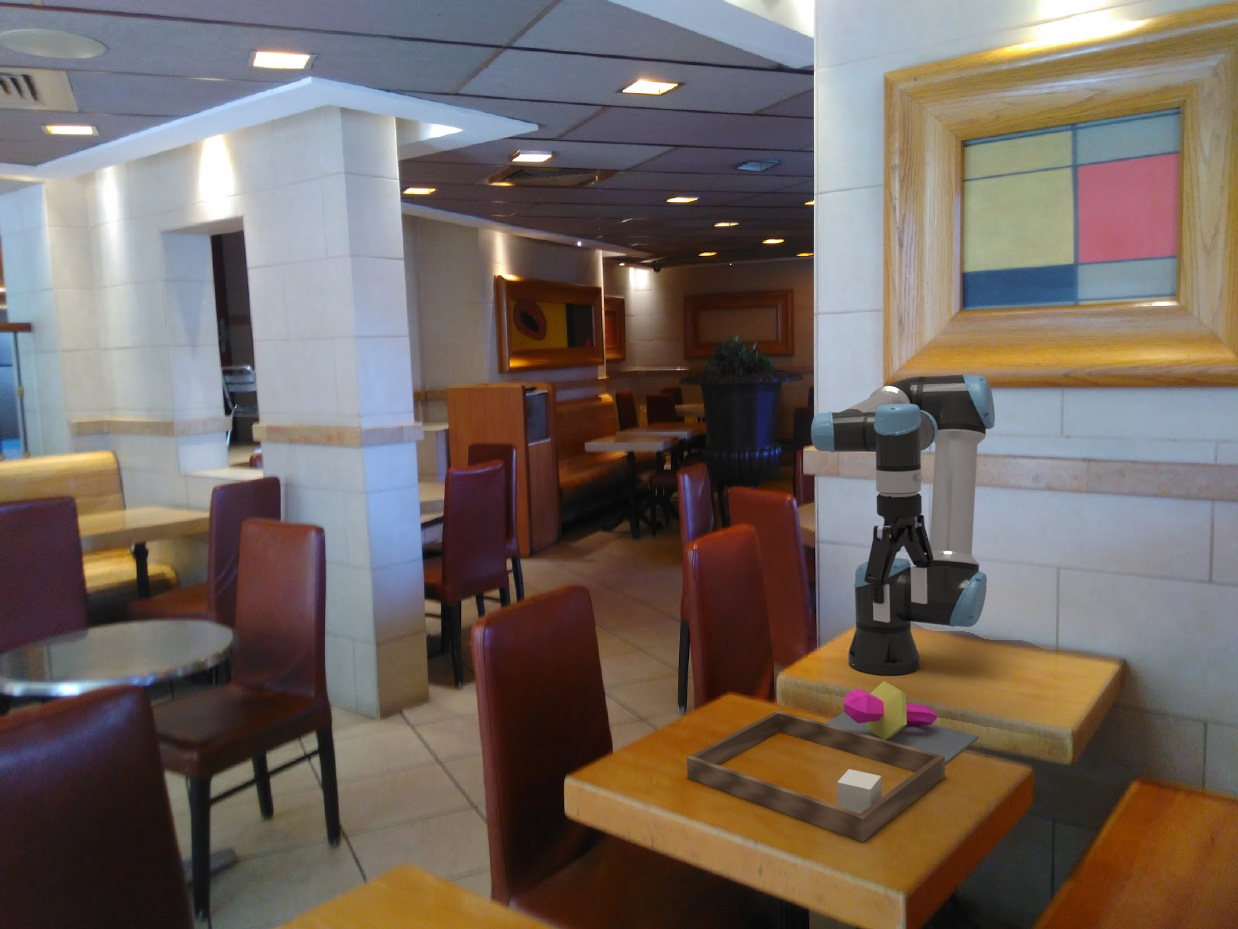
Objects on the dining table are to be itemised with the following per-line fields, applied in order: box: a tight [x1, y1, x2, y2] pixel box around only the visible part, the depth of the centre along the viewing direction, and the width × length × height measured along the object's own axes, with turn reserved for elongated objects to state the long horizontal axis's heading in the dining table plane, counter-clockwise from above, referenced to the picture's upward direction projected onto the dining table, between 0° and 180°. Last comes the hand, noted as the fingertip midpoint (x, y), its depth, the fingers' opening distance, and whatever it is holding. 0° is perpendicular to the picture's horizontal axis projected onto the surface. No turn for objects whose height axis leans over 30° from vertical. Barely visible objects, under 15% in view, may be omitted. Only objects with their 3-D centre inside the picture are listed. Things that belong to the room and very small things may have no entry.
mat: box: [824, 711, 980, 765], centre depth 161 cm, size 24×18×1 cm
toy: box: [843, 680, 939, 740], centre depth 161 cm, size 10×18×10 cm, turn 106°
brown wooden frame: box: [686, 710, 946, 843], centre depth 146 cm, size 32×26×4 cm
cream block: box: [836, 768, 883, 814], centre depth 135 cm, size 5×5×5 cm
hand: (901, 611), depth 160 cm, fingers open, 13 cm apart
